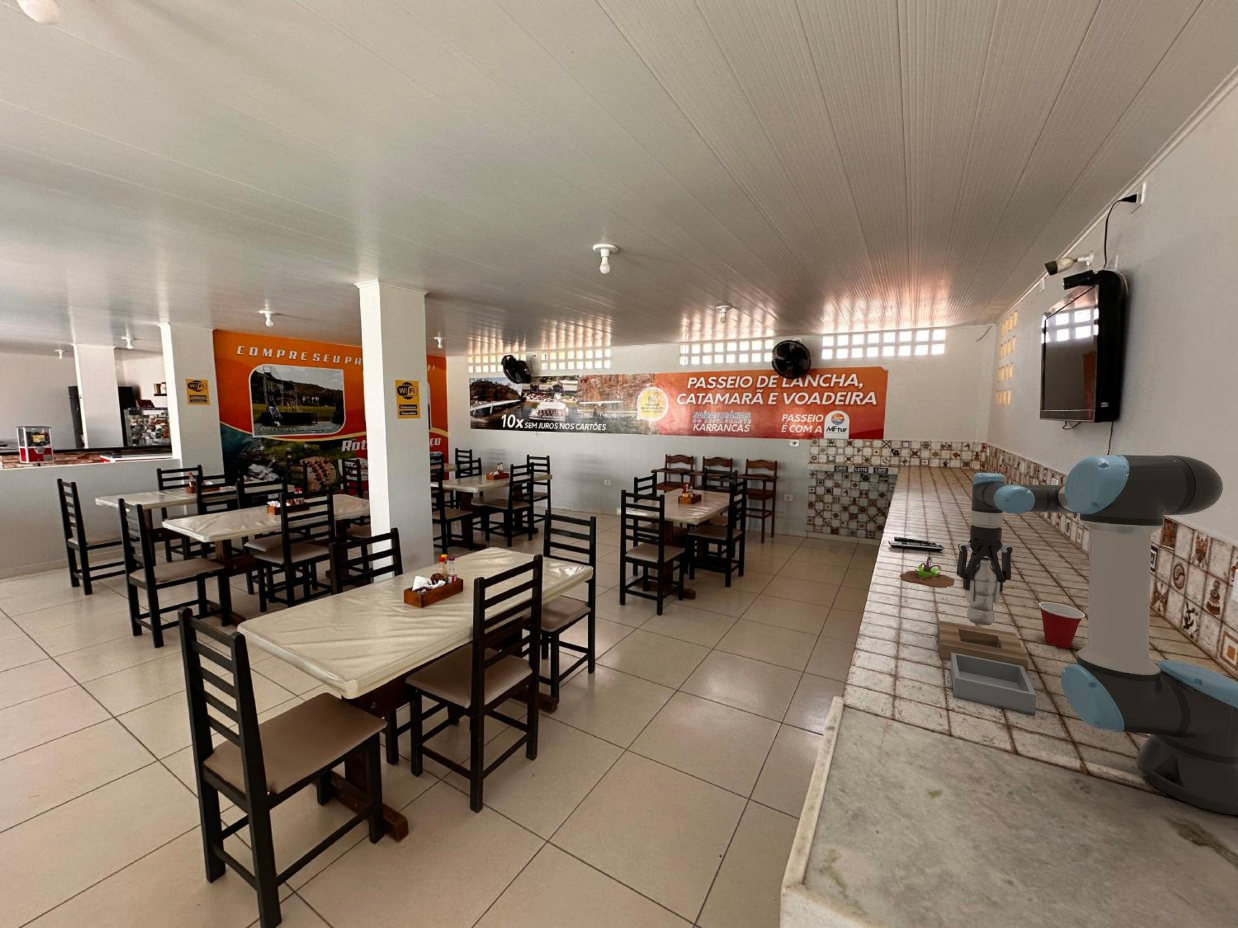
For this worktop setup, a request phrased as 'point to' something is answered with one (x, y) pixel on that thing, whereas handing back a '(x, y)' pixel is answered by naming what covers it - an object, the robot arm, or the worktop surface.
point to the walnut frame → (980, 643)
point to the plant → (928, 576)
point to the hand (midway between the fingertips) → (981, 601)
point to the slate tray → (992, 683)
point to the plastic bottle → (983, 593)
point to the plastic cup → (1059, 623)
